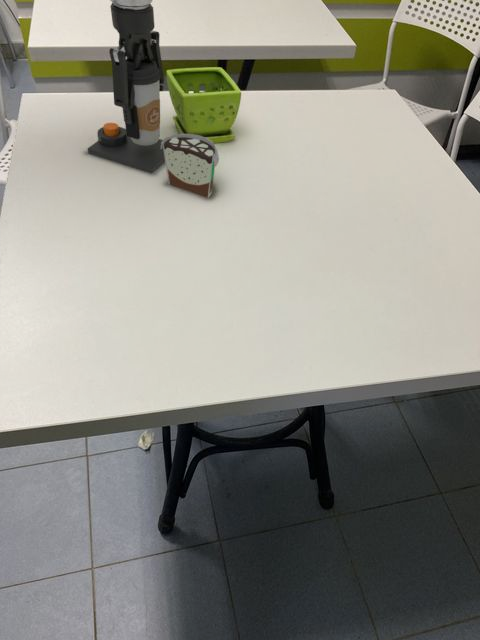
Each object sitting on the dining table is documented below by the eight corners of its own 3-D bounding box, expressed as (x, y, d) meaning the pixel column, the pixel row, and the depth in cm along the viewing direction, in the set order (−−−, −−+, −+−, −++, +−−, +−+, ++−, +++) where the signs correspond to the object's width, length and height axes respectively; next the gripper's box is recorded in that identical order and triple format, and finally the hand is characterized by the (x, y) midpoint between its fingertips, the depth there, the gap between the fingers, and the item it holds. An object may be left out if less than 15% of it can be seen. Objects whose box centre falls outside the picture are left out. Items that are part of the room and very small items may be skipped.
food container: (228, 188, 105) (230, 143, 97) (214, 202, 101) (215, 156, 94) (178, 171, 108) (176, 126, 100) (163, 184, 104) (159, 138, 96)
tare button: (101, 134, 109) (100, 127, 107) (109, 129, 111) (108, 121, 109) (114, 138, 108) (112, 130, 107) (122, 132, 110) (121, 125, 109)
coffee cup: (144, 152, 103) (136, 76, 92) (117, 138, 106) (106, 62, 95) (172, 139, 108) (168, 65, 96) (145, 125, 111) (138, 52, 99)
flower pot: (183, 152, 113) (181, 95, 103) (167, 124, 121) (164, 68, 111) (240, 146, 117) (243, 90, 108) (221, 119, 125) (222, 65, 116)
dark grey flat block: (86, 155, 109) (83, 139, 106) (117, 132, 116) (115, 118, 114) (152, 175, 106) (150, 160, 103) (179, 151, 113) (178, 137, 110)
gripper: (117, 23, 81) (133, 154, 98) (178, -6, 94) (182, 115, 111) (78, 13, 82) (100, 144, 100) (143, -14, 95) (153, 106, 112)
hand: (143, 129), depth 105 cm, fingers closed on coffee cup, 8 cm apart
